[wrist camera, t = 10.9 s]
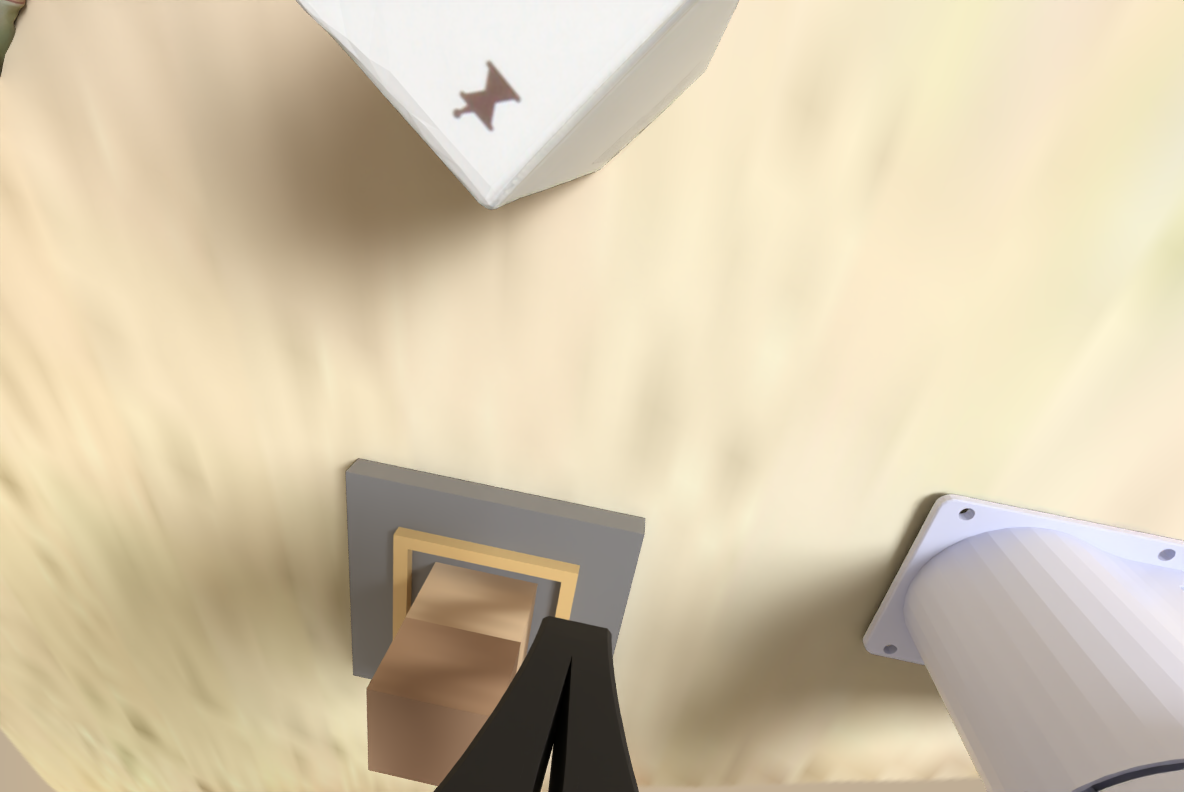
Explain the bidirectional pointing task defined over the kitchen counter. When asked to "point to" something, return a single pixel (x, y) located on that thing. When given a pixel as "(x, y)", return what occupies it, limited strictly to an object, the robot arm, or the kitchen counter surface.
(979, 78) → the kitchen counter surface
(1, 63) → the juice carton
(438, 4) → the skincare box
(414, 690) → the tan wooden block
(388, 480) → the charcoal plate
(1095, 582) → the robot arm
